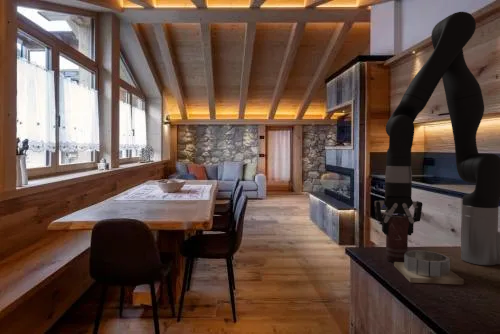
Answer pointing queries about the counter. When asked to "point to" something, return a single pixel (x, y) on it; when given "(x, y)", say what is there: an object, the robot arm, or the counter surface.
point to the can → (397, 238)
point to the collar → (427, 263)
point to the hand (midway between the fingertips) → (397, 234)
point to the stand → (423, 279)
